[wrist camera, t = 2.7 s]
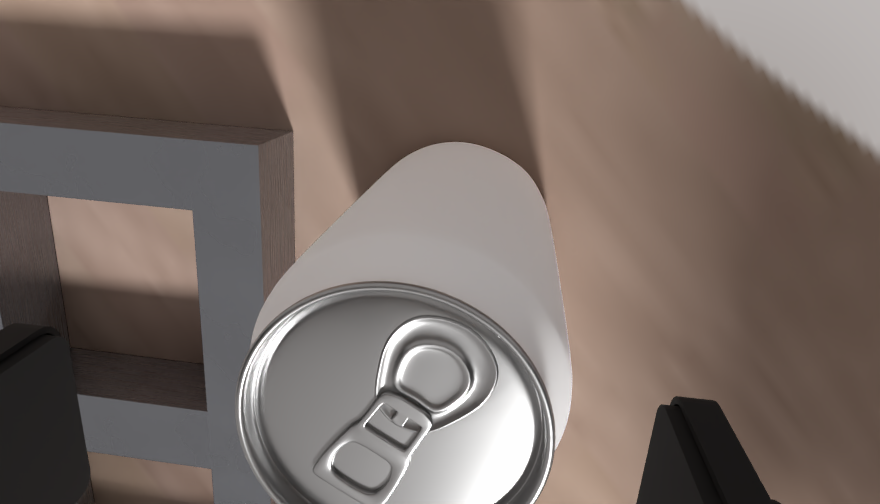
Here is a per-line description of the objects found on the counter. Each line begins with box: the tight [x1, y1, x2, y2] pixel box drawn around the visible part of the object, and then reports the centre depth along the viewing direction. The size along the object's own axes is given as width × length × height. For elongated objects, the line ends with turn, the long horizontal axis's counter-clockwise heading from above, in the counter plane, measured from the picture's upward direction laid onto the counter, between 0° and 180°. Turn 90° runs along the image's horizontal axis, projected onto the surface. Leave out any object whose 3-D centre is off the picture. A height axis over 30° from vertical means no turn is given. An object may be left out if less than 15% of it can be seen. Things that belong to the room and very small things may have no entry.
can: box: [235, 142, 572, 504], centre depth 16 cm, size 6×6×12 cm
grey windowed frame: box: [0, 106, 295, 504], centre depth 24 cm, size 12×22×3 cm, turn 176°
